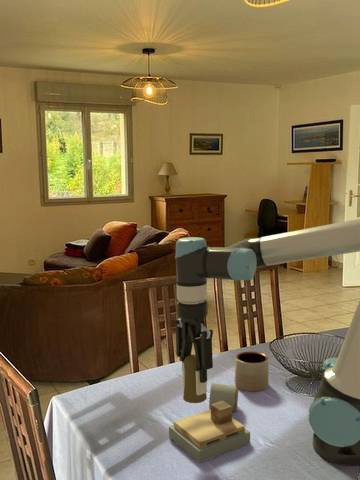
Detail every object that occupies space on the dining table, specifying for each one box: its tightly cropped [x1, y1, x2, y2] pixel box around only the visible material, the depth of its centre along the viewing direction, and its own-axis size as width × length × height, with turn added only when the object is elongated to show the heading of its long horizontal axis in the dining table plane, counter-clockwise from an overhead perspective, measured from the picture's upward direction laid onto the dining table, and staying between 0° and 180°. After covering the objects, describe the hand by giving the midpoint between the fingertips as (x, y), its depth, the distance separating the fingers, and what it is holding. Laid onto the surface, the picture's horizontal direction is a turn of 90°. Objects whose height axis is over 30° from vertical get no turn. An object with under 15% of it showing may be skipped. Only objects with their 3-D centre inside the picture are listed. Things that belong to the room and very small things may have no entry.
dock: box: [168, 424, 251, 464], centre depth 132 cm, size 14×16×3 cm
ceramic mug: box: [208, 382, 239, 412], centre depth 149 cm, size 11×8×8 cm
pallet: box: [173, 409, 246, 448], centre depth 131 cm, size 12×14×2 cm
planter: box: [234, 350, 270, 393], centre depth 163 cm, size 11×11×10 cm
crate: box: [211, 401, 233, 425], centre depth 133 cm, size 4×4×4 cm
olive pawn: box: [182, 354, 207, 404], centre depth 127 cm, size 6×6×11 cm
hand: (194, 389), depth 128 cm, fingers closed on olive pawn, 5 cm apart
